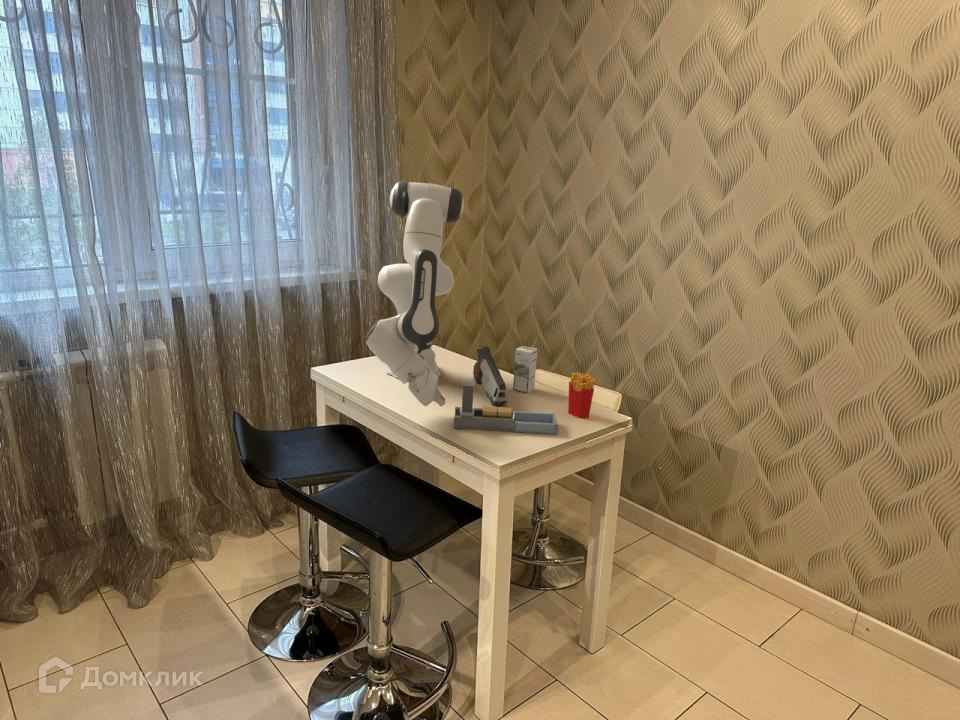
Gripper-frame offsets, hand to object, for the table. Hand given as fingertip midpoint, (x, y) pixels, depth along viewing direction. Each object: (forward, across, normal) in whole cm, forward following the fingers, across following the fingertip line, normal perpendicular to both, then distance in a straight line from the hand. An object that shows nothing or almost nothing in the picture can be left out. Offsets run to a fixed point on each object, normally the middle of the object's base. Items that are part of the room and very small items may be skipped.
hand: (443, 403), depth 198 cm
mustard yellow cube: (+16, 0, -9) cm, 18 cm away
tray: (+23, 0, -15) cm, 27 cm away
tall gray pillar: (+8, 0, -2) cm, 8 cm away
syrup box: (+22, +34, -14) cm, 42 cm away
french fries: (+34, +12, -25) cm, 44 cm away
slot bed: (+13, 0, -4) cm, 13 cm away
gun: (+14, +28, -5) cm, 32 cm away
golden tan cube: (+13, 0, -6) cm, 14 cm away
